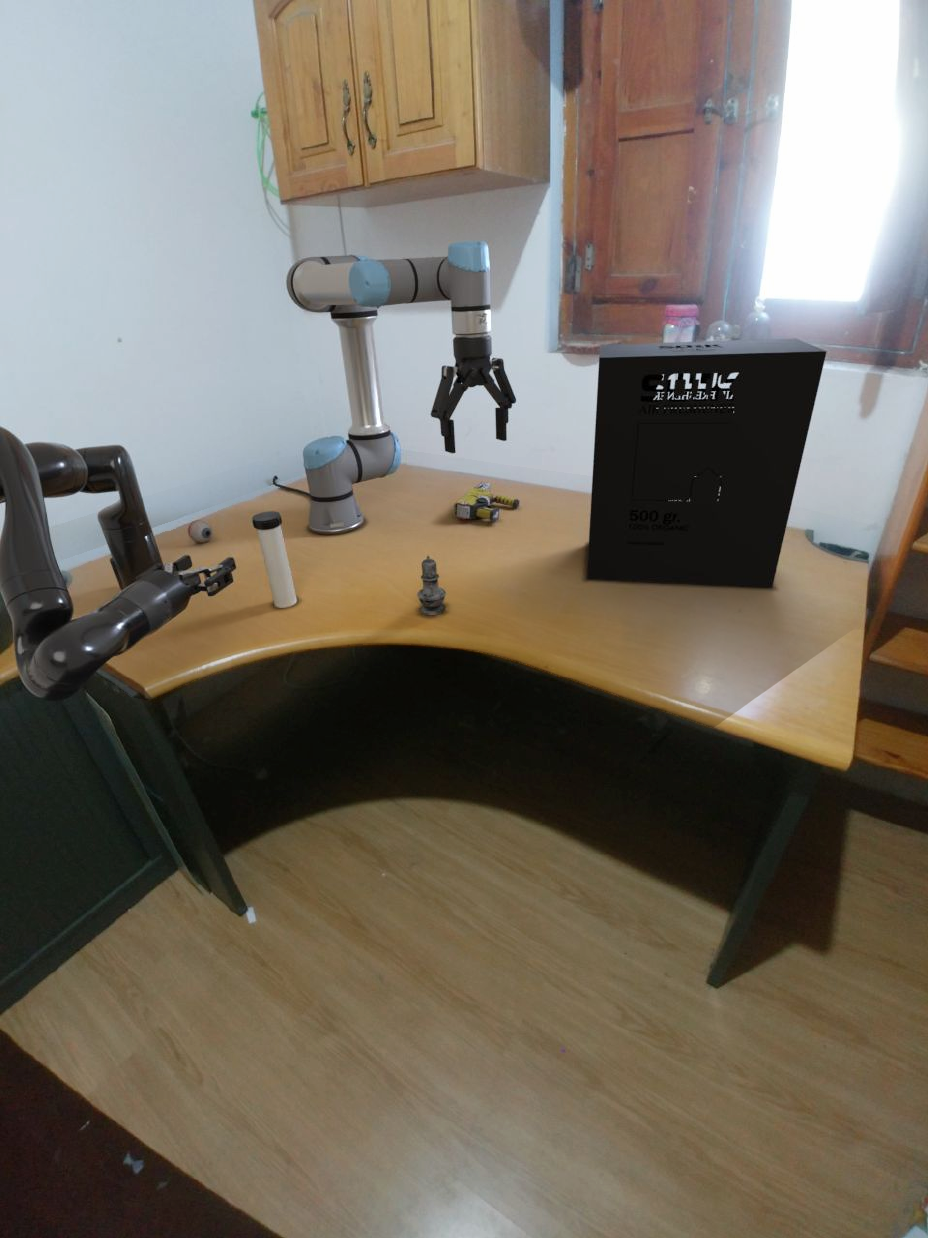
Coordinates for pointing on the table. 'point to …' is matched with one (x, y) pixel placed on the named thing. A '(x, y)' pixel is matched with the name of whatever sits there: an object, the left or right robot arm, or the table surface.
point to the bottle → (277, 566)
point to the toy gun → (481, 504)
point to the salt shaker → (431, 589)
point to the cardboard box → (698, 459)
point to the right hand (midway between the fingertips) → (476, 445)
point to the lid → (267, 520)
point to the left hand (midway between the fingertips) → (210, 561)
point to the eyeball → (200, 531)
